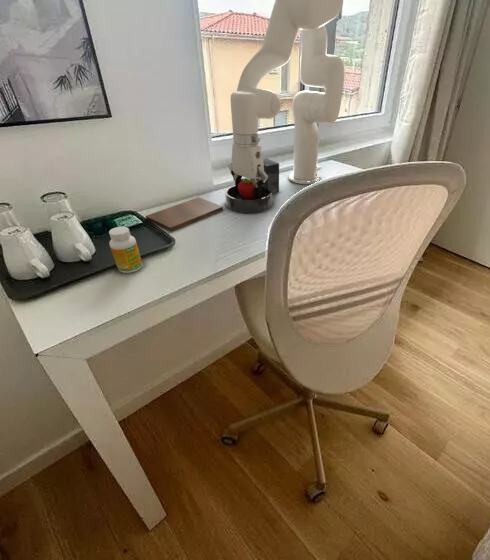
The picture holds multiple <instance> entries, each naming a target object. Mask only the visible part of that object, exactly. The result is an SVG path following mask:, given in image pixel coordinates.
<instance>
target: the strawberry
mask: <svg viewBox="0 0 490 560" xmlns="http://www.w3.org/2000/svg"><path fill="white" fill-rule="evenodd" d="M241 180H243V181H241V182H240V183H239V184H238V190H239V193H240V195H241V196H242V197H243V199H244V200H254V191H253V188H254V187H255V186H254V183H253V181H252V179H249V178H246V177H244V178H241Z"/></svg>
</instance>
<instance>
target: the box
mask: <svg viewBox="0 0 490 560" xmlns="http://www.w3.org/2000/svg"><path fill="white" fill-rule="evenodd" d="M263 164H264V172H265V173H266V174H267V175H268V178H267V180H266V182H265V183H264V184H263V186H266V187H268V188H269V189H270V190H271V192H272V195H273V194H276V193H279V192H280V163H279V162H276V161H273V160H272V159H269V158H263ZM261 178H262V177H261ZM256 181H257V183H258V180H257V179H256Z"/></svg>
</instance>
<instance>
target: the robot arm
mask: <svg viewBox="0 0 490 560" xmlns="http://www.w3.org/2000/svg"><path fill="white" fill-rule="evenodd" d="M343 5H344V0H275V1H274V4H273V6H272V10H271V14H270V18H269V22H268V25H267V29H266V32H265V35H264V39H263V43H262V46H261V48H260V49H259V50H257V52H256V53H255V54H254V55H253V56H252V58H251V59H250V60H249V61H248V62H247V63H246V65H245V66H244V68H243V70H242V72H241V74H240V77H239V79H238V84H237V88H236V90H235V91H233V92H232V93H231V94H230V113H231V126H232V140H233V142H232V147H231V162H230V163H229V164H228V166H227V168H228V170H229V172H230V175H231V176H232V177H233V178H232V180H233V181H234V185H235V189H236V193H239V190H238V184H239V183H240V182H241V181H244V180H241V179H243V178H246V179H249V180H250V179H252V181H253V183H254V186H255V187H254V188H253V191H254V199H258V198H261V197H262V188H261V186H263V184H264V183H265V182H266V180H267V178H268V175H267V174H266V173H265V172H264V164H263V159H264V156H263V151H262V146H261V144H259V143H260V142H261V138H260V137H259V120H261V119H263V120H264V119H265V120H270V119H274V118H275V117H277V116H278V115H279V114H280V111H281V109H282V101H281V98H280V96H279V95H278V94H277V93H276V92H275V91H272V90H270V89H263V88H258V86H259V84H260V83H261V81H262V80H263V79H264V78H265V77H266V76H267V75H268V74H270V73H271V72H274V71H275V70H277V69H280V68H281V67H283V66H284V65H286V64H287V63H288V62H289V61H290V59H291V56H292V51H293V50H294V46H295V42H296V38H297V35H298V32H299V31H300V32H301V49H300V61H299V80H300V82H301V84H303V85H304V86H307V87H312V88H320V89H324V92H320V91H313V90H301V91H298V92H297V93H296V94H295V95H294V97H293V100H292V113H293V115H292V116H293V123H294V125H293V126H294V133H293V134H294V135H293V136H294V139H293V166H292V167H293V168H292V172H291V173H290V174H289V176H288V179H289V180H290V182H292V183H295V184H300V185H313V184H316V183H315V182H317V181H318V182H320V180H321V179H320V178H321V177H320V175H318V172H319V171H322V168H323V167H322V166H321V165H318V158H319V157H318V155H319V145H320V143H319V142H320V130H319V127H318V125H317V124H324V125H333V124H334V123H335V122H336V121H337V120H338V117H339V115H340V111H341V105H342V98H343V90H344V85H345V84H344V83H345V77H346V68H345V63H344V61H343V59H342V58H341V57H340V56H339V55H336V54H327V49H328V39H329V38H328V31H327V27H326V25H327V24H328V23H330V22H331V21H333V20H334V19H336V18H337V17H338V16H339V14H340V13H341V10H342V8H343ZM261 177H262V178H261ZM317 177H320V178H317ZM316 178H317V179H316ZM256 179H257V180H258V183H257V181H256ZM318 179H319V180H318ZM316 180H317V181H316ZM307 181H310V182H307ZM318 182H317V183H318Z"/></svg>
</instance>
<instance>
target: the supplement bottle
mask: <svg viewBox="0 0 490 560" xmlns="http://www.w3.org/2000/svg"><path fill="white" fill-rule="evenodd" d="M108 234H109V237H110V240H109V248H110V251H111V254H112V256H113V259H114V261H115V265H116V268H117V270H118V272H120V273H123V274H129V273H134V272H137V271H139V270H140V269H141V268H142V267H143V260H142V257H141V253H140V250H139V246H138V243H137V240H136V237H134V236H133V235H131V231H130V228H128V227H127V226H116V227H113V228H111V229H110V230H109V231H108Z"/></svg>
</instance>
